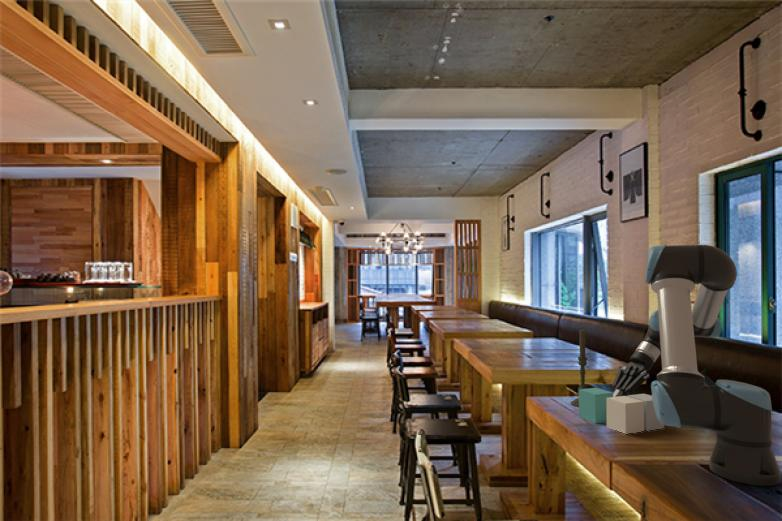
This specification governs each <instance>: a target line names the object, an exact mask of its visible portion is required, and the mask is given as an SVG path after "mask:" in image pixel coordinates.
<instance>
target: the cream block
mask: <svg viewBox="0 0 782 521" xmlns="http://www.w3.org/2000/svg"><path fill="white" fill-rule="evenodd" d="M627 396H628V395H625V396H619V397H610V398H606V399H607V422H606V428H607V429H609V428H610V429H609V430H611V429H613V430H612V431H614V430H617V431H619V432H622V433H625V434H628V433H634V434H637V433H636V432H641V431H644V401H641V400H637V399H634V398H630V397H627ZM617 431H616V432H617ZM619 432H618V433H619ZM644 432H645V431H644ZM622 433H621V434H622ZM641 433H642V432H641ZM625 434H624V435H625ZM628 435H629V434H628Z"/></svg>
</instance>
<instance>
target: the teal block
mask: <svg viewBox="0 0 782 521" xmlns="http://www.w3.org/2000/svg"><path fill="white" fill-rule="evenodd" d="M613 392H614V391H608V390H605V389H603V388H602V389H601V388H598V387H592V388H591V387H590V388H587V389H580V390H578V398H579V407H578V417H579V418H580V419H582V420H585V421H588V422H590V423H593V424H604V423H607V399H606V398H610V397H613Z"/></svg>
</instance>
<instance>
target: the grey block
mask: <svg viewBox="0 0 782 521" xmlns="http://www.w3.org/2000/svg"><path fill="white" fill-rule="evenodd" d="M626 396H627V397H630V398H634V399H637V400H641V401H644V430H646V431H648V432H650V431H649V430H654V429H661V428H664V429H665V425H663V424H661V423H660V422H659V420H658V419H657V416H656V413H655V409H654V405H653V400H652V394H651V395H650V394H648V393H647V394H646V393H638V394H631V395H629V394H627V395H626ZM661 430H662V429H661ZM646 431H645V432H646ZM654 431H655V430H654Z"/></svg>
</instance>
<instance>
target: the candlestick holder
mask: <svg viewBox="0 0 782 521" xmlns="http://www.w3.org/2000/svg"><path fill="white" fill-rule="evenodd" d="M588 359H589V358H588V357H586V330H584V328H582V329H579V356H578V357H577V360H578V362H577V363H578V365H579V366H580V368H579V374H580V385H579V387H578V389H577V390H578V391H579V390H580V389H588V388H587V387H586V385H585V381H586V378H585V377H586V368H585V367H587V365H588V363H587V360H588ZM570 405H572V406H573V407H576V408H579V397H577V398H575V399H574V400H572V401H570Z"/></svg>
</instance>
